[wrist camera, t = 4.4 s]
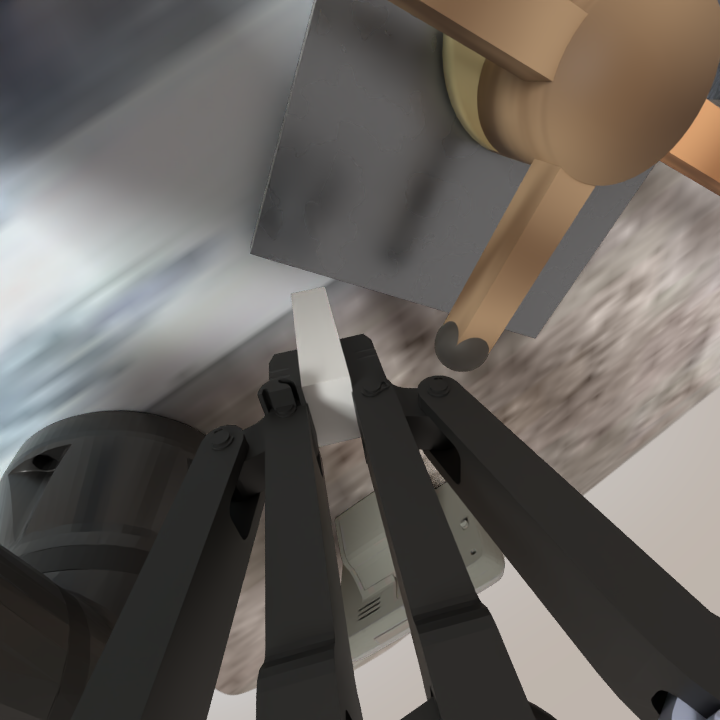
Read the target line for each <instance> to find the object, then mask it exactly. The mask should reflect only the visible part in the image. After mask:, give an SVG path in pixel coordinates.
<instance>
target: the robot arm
mask: <svg viewBox="0 0 720 720" xmlns="http://www.w3.org/2000/svg"><path fill="white" fill-rule="evenodd" d="M291 299H292V308H293V317H294V325H295V334H296V343H297V350H293V351H288V352H284V353H279V354H275V355H274V356H273V358H272V359H271V361H270V363H269V380H270V381H268V382H267V383H265V384H264V385H263V386H262V387H261V388H260V389H259V392H258V398H259V400H260V403H261V405H262V408H263V411H264V413H265V417H264V418H263V419H262V420H260V421H259V422H258V423H256V424H255V425H253V426H251V427H249V428H247V429H245V430H243V431H242V429H241V428H239V427H238V426H235V425H226V426H221V427H219V428H217V429H214V430H212V431H211V432H210V433H209V434H207V435H206V436H205V435H204V434H202V433H200V432H199V431H197V430H195V429H193V428H191V427H189V426H187V425H185V424H182V423H180V422H177V421H174V420H171V419H168V418H164V417H161V416H156V415H152V414H146V413H138V412H127V411H106V412H95V413H88V414H82V415H78V416H74V417H70V418H67V419H64V420H61V421H58V422H56V423H53V424H51V425H49V426H47V427H45V428H43V429H42V430H40V431H38V432H37V433H36V434H34V435H33V436H32V437H30V438H29V439H28V440H27V441H26V442H25V443H24V444H23V445H22V447H21V448H20V449H19V451H18V452H17V454H16V455H15V457H14V459H13V460H12V462H11V463H10V465H9V466H8V468H7V469H6V471H5V473H4V474H3V476H2V478H1V481H0V720H206V719H207V715H208V712H209V708H210V704H211V700H212V696H213V693H214V689H215V685H216V682H217V678H218V674H219V670H220V667H221V663H222V659H223V655H224V652H225V648H226V644H227V641H228V637H229V633H230V629H231V626H232V622H233V618H234V614H235V611H236V607H237V603H238V599H239V596H240V592H241V588H242V584H243V581H244V577H245V573H246V570H247V566H248V562H249V558H250V555H251V551H252V547H253V543H254V540H255V536H256V532H257V528H258V525H259V521H260V517H261V513H262V510H263V506H264V502H265V649H266V650H265V660H264V664H263V665H262V667H261V668H260V670H259V674H258V679H257V693H256V694H257V695H256V720H363V717H362V713H361V707H360V703H359V698H358V694H357V689H356V684H355V678H354V671H353V664H352V658H351V651H350V644H349V638H348V631H347V624H346V618H345V611H344V604H343V597H342V591H341V584H340V577H339V571H338V564H337V557H336V551H335V544H334V537H333V531H332V524H331V517H330V511H329V504H328V497H327V491H326V484H325V477H324V471H323V464H322V458H321V455H320V451H319V447H322V446H326V445H330V444H335V443H339V442H343V441H347V440H351V439H355V438H360V437H361V438H362V443H363V448H364V454H365V459H366V464H368V468H369V472H370V476H371V480H372V484H373V487H374V491H375V495H376V499H377V503H378V507H379V511H380V515H381V518H382V522H383V526H384V530H385V534H386V538H387V542H388V546H389V550H390V553H391V557H392V561H393V565H394V569H395V573H396V577H397V581H398V585H399V588H400V592H401V596H402V600H403V604H404V608H405V612H406V616H407V619H408V623H409V627H410V631H411V635H412V639H413V643H414V646H415V650H416V654H417V658H418V662H419V666H420V670H421V675H422V679H423V683H424V688H425V692H426V696H427V701H426V702H425V703H424V704H422V705H421V706H419V707H418V708H416V709H415V710H414V711H412V712H411V713H409V714H408V715H406V716H405V717H404V718H402V719H401V720H557V719H555V718H554V717H553V716H552V715H550V714H549V713H547V712H546V711H544V710H543V709H541V708H539V707H538V706H537V705H535V704H533V703H531V702H529V701H528V700H527V698H526V695H525V693H524V691H523V688H522V686H521V683H520V681H519V679H518V676H517V674H516V671H515V669H514V667H513V664H512V662H511V660H510V657H509V655H508V652H507V650H506V647H505V645H504V643H503V640H502V638H501V635H500V633H499V630H498V628H497V626H496V624H495V621H494V619H493V617H492V615H491V613H490V612H489V610H488V608H487V607H486V606H485V605H484V604H482V603H481V601H480V599H479V598H478V595H477V593H476V591H475V588H474V586H473V583H472V581H471V578H470V576H469V574H468V571H467V569H466V566H465V564H464V561H463V559H462V556H461V554H460V551H459V549H458V546H457V544H456V541H455V539H454V536H453V534H452V531H451V529H450V526H449V524H448V521H447V519H446V516H445V514H444V511H443V509H442V507H441V504H440V502H439V499H438V497H437V494H436V492H435V489H434V487H433V484H432V482H431V479H430V477H429V474H428V472H427V469H426V467H425V464H424V462H423V459H422V457H421V454H420V452H419V449H422V450H423V452H424V454H425V455H426V456H427V458H428V459H429V460H430V461H431V463H432V464H433V465H434V467H435V468H436V469H437V470H438V472H439V473H440V474H441V475H442V477H443V478H444V479H445V480H446V482H447V483H448V484H449V486H450V487H451V488H452V489H453V491H454V492H455V493H456V494H457V496H458V497H459V498H460V499H461V501H462V502H463V503H464V505H465V506H466V507H467V508H468V510H469V511H470V512H471V513H472V515H473V516H474V517H475V518H476V520H477V521H478V522H479V524H480V525H481V526H482V527H483V529H484V530H485V531H486V532H487V534H488V535H489V536H490V537H491V539H492V540H493V541H494V542H495V544H496V545H497V546H498V548H499V549H500V550H501V551H502V553H503V554H504V555H505V556H506V558H507V559H508V560H509V561H510V563H511V564H512V565H513V567H514V568H515V569H516V570H517V572H518V573H519V574H520V575H521V577H522V578H523V579H524V580H525V582H526V583H527V584H528V586H529V587H530V588H531V589H532V590H533V592H534V593H535V594H536V596H537V597H538V598H539V599H540V601H541V602H542V603H543V605H544V606H545V607H546V608H547V610H548V611H549V612H550V613H551V615H552V616H553V617H554V618H555V620H556V621H557V622H558V623H559V625H560V626H561V627H562V629H563V630H564V631H565V632H566V634H567V635H568V636H569V637H570V639H571V640H572V641H573V643H574V644H575V645H576V646H577V648H578V649H579V650H580V651H581V653H582V654H583V655H584V656H585V658H586V659H587V660H588V661H589V663H590V664H591V665H592V667H593V668H594V669H595V670H596V672H597V673H598V674H599V675H600V676H601V678H603V680H604V681H605V682H606V683H607V685H608V686H609V687H610V688H611V689H612V690H613V692H614V693H615V694H616V695H617V696H618V697H619V699H620V700H622V701H623V703H625V705H626V706H627V707H628V708H629V709H631V711H632V712H633V713H634V714H635V715H636V716H637V717H639V719H640V720H720V617H718V616H716V615H715V614H713V613H711V612H710V611H709V610H708V609H706V607H704V606H703V605H702V604H701V603H700V602H699V601H698V600H697V599H696V598H695V597H694V596H692V595H691V594H690V593H689V592H688V591H687V590H686V589H685V588H684V587H683V586H681V585H680V584H679V583H678V582H677V581H676V580H675V579H674V578H673V577H671V576H670V575H669V574H668V573H667V572H666V571H665V570H664V569H663V568H662V567H660V566H659V565H658V564H657V563H656V562H655V561H654V560H653V559H652V558H650V557H649V556H648V555H647V554H646V553H645V552H644V551H643V550H642V549H641V548H639V547H638V546H637V545H636V544H635V543H634V542H633V541H632V540H631V539H630V538H629V537H627V536H626V535H625V534H624V533H623V532H622V531H621V530H620V529H619V528H617V527H616V526H615V525H614V524H613V523H612V522H611V521H610V520H609V519H607V517H605V516H604V515H603V514H602V513H601V512H600V511H599V510H598V509H597V508H595V507H594V506H593V505H592V504H591V503H590V502H589V501H588V500H587V499H585V498H584V497H583V496H582V495H581V494H580V493H579V492H578V491H577V490H576V489H575V488H573V487H572V486H571V485H570V484H569V483H568V482H567V481H566V480H565V479H564V478H562V477H561V476H560V475H559V474H558V473H557V472H556V471H555V470H554V469H553V468H551V467H550V466H549V465H548V464H547V463H546V462H545V461H544V460H543V459H542V458H540V457H539V456H538V455H537V454H536V453H535V452H534V451H533V450H532V449H530V448H529V447H528V446H527V445H526V444H525V443H524V442H523V441H522V440H521V439H519V438H518V437H517V436H516V435H515V434H514V433H513V432H512V431H511V430H510V429H508V428H507V427H506V426H505V425H504V424H503V423H502V422H501V421H500V420H499V419H497V418H496V417H495V416H494V415H493V414H492V413H491V412H490V411H489V410H488V409H486V408H485V407H484V406H483V405H482V404H481V403H480V402H479V401H478V400H477V399H475V398H474V397H473V396H472V395H471V394H470V393H469V392H468V391H467V390H465V389H464V388H463V387H462V386H461V385H460V384H459V383H458V382H457V381H455V380H454V379H452V378H450V377H446V376H432V377H428V378H426V379H424V380H423V381H421V383H420V384H419V385H418V388H401V387H397V386H395V385H393V384H391V382H390V381H389V380H387V378H386V376H385V373H384V371H383V368H382V366H381V363H380V361H379V358H378V356H377V353H376V351H375V349H374V346H373V343H372V341H371V339H369V338H368V337H367V336H365V335H364V334H360V335H356V336H351V337H347V338H342V339H339V336H338V333H337V329H336V325H335V322H334V318H333V315H332V311H331V307H330V304H329V300H328V297H327V293H326V289H325V287H320V288H315V289H311V290H306V291H301V292H296V293H292V294H291ZM318 445H319V447H318Z"/></svg>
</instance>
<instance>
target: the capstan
mask: <svg viewBox="0 0 720 720" xmlns="http://www.w3.org/2000/svg"><path fill="white" fill-rule="evenodd" d="M388 1H389V2H391V3H393V4H394V5H396V6H398V7H400V8H401V9H403V10H405V11H406V12H408V13H410V14H411V15H413V16H415V17H417V18H418V19H420V20H422V21H423V22H425V23H427V24H428V25H430V26H432V27H434V28H435V29H437V30H439V31H440V32H442V33H443V50H442V56H443V72H444V77H445V83H446V89H447V92H448V95H449V99H450V102H451V105H452V107H453V109H454V111H455V114H456V116H457V118H458V119H459V121H460V123H461V124H462V126H463V127H464V129H465V130H466V131H467V132H468V133H469V135H470V136H471V137H472V138H473V139H474V140H475V141H477V142H478V143H479V144H480V145H481V146H483V147H485V148H486V149H488V150H490V151H491V152H494V153H497V154H499V155H502V156H505V157H508V158H511V159H514V160H517V161H520V162H523V163H526V164H529V165H531V166H530V168H529V169H528V171H527V173H526V175H525V177H524V179H523V180H522V182H521V184H520V186H519V188H518V189H517V191H516V193H515V195H514V197H513V199H512V200H511V202H510V204H509V206H508V208H507V209H506V211H505V213H504V215H503V217H502V219H501V220H500V222H499V224H498V226H497V228H496V230H495V231H494V233H493V235H492V237H491V239H490V240H489V242H488V244H487V246H486V248H485V250H484V251H483V253H482V255H481V257H480V259H479V260H478V262H477V264H476V266H475V268H474V270H473V271H472V273H471V275H470V277H469V279H468V280H467V282H466V284H465V286H464V288H463V290H462V291H461V293H460V295H459V297H458V299H457V300H456V302H455V304H454V306H453V308H452V310H451V311H450V313H449V315H448V317H447V319H446V320H445V322H444V324H443V326H442V327H441V328H440V329H439V331H438V333H437V335H436V338H435V352H436V355H437V357H438V359H439V360H440V361H441V363H442V364H443V365H445V366H446V367H447V368H449V369H451V370H454V371H459V372H466V371H471V370H473V369H476V368H477V367H479V366H480V365H481V364H482V363H483V362H484V361H485V360H486V358H487V357H488V354H489V352H490V351H491V349H492V348H493V346H494V345H495V343H496V342H497V340H498V338H499V337H500V335H501V334H502V332H503V331H504V329H505V327H506V326H507V324H508V323H509V321H510V320H511V318H512V316H513V315H514V313H515V312H516V310H517V309H518V307H519V305H520V304H521V302H522V301H523V299H524V298H525V296H526V294H527V293H528V291H529V290H530V288H531V287H532V285H533V283H534V282H535V280H536V279H537V277H538V276H539V274H540V272H541V271H542V269H543V268H544V266H545V265H546V263H547V262H548V260H549V258H550V257H551V255H552V254H553V252H554V251H555V249H556V247H557V246H558V244H559V243H560V241H561V240H562V238H563V236H564V235H565V233H566V232H567V230H568V229H569V227H570V225H571V224H572V222H573V221H574V219H575V218H576V216H577V214H578V213H579V211H580V210H581V208H582V207H583V205H584V203H585V202H586V200H587V199H588V197H589V196H590V194H591V193H592V191H593V189H594V188H595V186H605V185H613V184H617V183H621V182H624V181H626V180H629V179H631V178H634V177H635V176H637V175H639V174H641V173H643V172H644V171H646V170H647V169H649V168H650V167H652V166H653V165H654V164H656V163H657V162H658V161H661V162H663V163H665V164H666V165H668V166H670V167H671V168H673V169H675V170H676V171H678V172H680V173H682V174H683V175H685V176H687V177H688V178H690V179H692V180H693V181H695V182H697V183H699V184H700V185H702V186H704V187H705V188H707V189H709V190H710V191H712V192H714V193H715V194H717V195H719V196H720V108H719V107H717V106H716V105H714V104H713V103H712V102H710V101H709V100H707V99H706V98H707V96H708V94H709V91H710V89H711V87H712V84H713V81H714V78H715V75H716V72H717V68H718V64H719V61H720V6H719V3H718V1H717V0H388Z"/></svg>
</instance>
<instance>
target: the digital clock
mask: <svg viewBox="0 0 720 720" xmlns="http://www.w3.org/2000/svg"><path fill="white" fill-rule="evenodd" d="M434 489H435V488H434ZM435 492H436V494H437V497H438V499H439V502H440V504H441V507H442V509H443V511H444V514H445V516H446V519H447V521H448V524H449V526H450V529H451V531H452V534H453V536H454V539H455V541H456V544H457V546H458V549H459V551H460V554H461V556H462V559H463V561H464V564H465V566H466V569H467V571H468V574H469V576H470V578H471V581H472V583H473V586H474V588H475V591H476V593H477V594H478V593H480V592H481V591H483V590H485V589H486V588H488V587H490V586H491V585H493V584H494V583H496V582H497V581H499V580H500V579H501V577H502V576H503V573H504V568H505V561H504V557H503V554H502V551H501V550H500V549H499V548H498V546H497V545H496V544H495V542H494V541H493V540H492V539H491V537H490V536H489V535H488V534H487V532H486V531H485V530H484V529H483V527H482V526H481V525H480V524H479V522H478V521H477V520H476V518H475V517H474V516H473V515H472V513H471V512H470V511H469V510H468V508H467V507H466V506H465V505H464V503H463V502H462V501H461V499H460V498H459V497H458V496H457V494H456V493H455V492H454V491H453V489H452V488H451V487H450V486H449V484H448V483H447V482H446V483H444V484H443V485H441V486H440V487H438V488H437V489H435ZM335 524H336V530H337V536H338V543H339V549H340V554H341V558H342V561H343V568H342V579H341V591H342V597H343V604H344V611H345V618H346V624H347V631H348V638H349V644H350V651H351V658H352V662H353V661H358V660H362V659H364V658H366V657H368V656H370V655H371V654H373V653H375V652H377V651H379V650H381V649H382V648H384V647H386V646H388V645H389V644H391V643H393V642H395V641H396V640H398V639H400V638H402V637H403V636H405V635H407V634H408V633H410V632H411V631H410V627H409V623H408V619H407V616H406V612H405V608H404V604H403V600H402V596H401V592H400V588H399V585H398V581H397V577H396V573H395V569H394V565H393V561H392V557H391V553H390V550H389V546H388V542H387V538H386V534H385V530H384V526H383V522H382V518H381V515H380V511H379V507H378V503H377V499H376V495H375V491H374V492H372V493H371V494H370V495H368V496H367V497H365V498H364V499H363V500H361V501H360V502H358V503H357V504H355V505H354V506H353V507H351V508H350V509H348V510H347V511H345V512H344V513H343V514H341V515H340V516H338V517H337V518H336V519H335Z"/></svg>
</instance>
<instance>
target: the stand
mask: <svg viewBox="0 0 720 720" xmlns="http://www.w3.org/2000/svg"><path fill="white" fill-rule="evenodd" d="M717 1H718V3H719V6H720V0H717ZM442 50H443V33H442V32H440V31H439V30H437V29H435V28H434V27H432V26H430V25H428V24H427V23H425V22H423V21H422V20H420V19H418V18H417V17H415V16H413V15H411V14H410V13H408V12H406V11H405V10H403V9H401V8H400V7H398V6H396V5H394V4H393V3H391V2H389V1H388V0H314V3H313V7H312V11H311V14H310V18H309V22H308V26H307V30H306V34H305V38H304V41H303V45H302V49H301V53H300V57H299V61H298V65H297V69H296V72H295V76H294V80H293V84H292V88H291V92H290V96H289V99H288V103H287V107H286V111H285V115H284V119H283V123H282V127H281V130H280V134H279V138H278V142H277V146H276V150H275V154H274V157H273V161H272V165H271V169H270V173H269V177H268V181H267V184H266V188H265V192H264V196H263V200H262V204H261V208H260V212H259V215H258V219H257V223H256V227H255V231H254V235H253V239H252V242H251V252H250V254H253V255H256V256H260V257H263V258H266V259H270V260H273V261H276V262H280V263H283V264H287V265H290V266H293V267H297V268H300V269H303V270H307V271H310V272H313V273H317V274H320V275H324V276H327V277H330V278H334V279H337V280H340V281H344V282H347V283H350V284H354V285H357V286H361V287H364V288H367V289H371V290H374V291H377V292H381V293H384V294H388V295H391V296H394V297H398V298H401V299H404V300H408V301H411V302H414V303H418V304H421V305H425V306H428V307H431V308H435V309H438V310H441V311H445V312H448V313H450V311H451V310H452V308H453V306H454V304H455V302H456V300H457V299H458V297H459V295H460V293H461V291H462V290H463V288H464V286H465V284H466V282H467V280H468V279H469V277H470V275H471V273H472V271H473V270H474V268H475V266H476V264H477V262H478V260H479V259H480V257H481V255H482V253H483V251H484V250H485V248H486V246H487V244H488V242H489V240H490V239H491V237H492V235H493V233H494V231H495V230H496V228H497V226H498V224H499V222H500V220H501V219H502V217H503V215H504V213H505V211H506V209H507V208H508V206H509V204H510V202H511V200H512V199H513V197H514V195H515V193H516V191H517V189H518V188H519V186H520V184H521V182H522V180H523V179H524V177H525V175H526V173H527V171H528V169H529V168H530V166H531V165H529V164H526V163H523V162H520V161H517V160H514V159H511V158H508V157H505V156H502V155H499V154H497V153H494V152H491V151H490V150H488V149H486V148H485V147H483V146H481V145H480V144H479V143H478V142H477V141H475V140H474V139H473V138H472V137H471V136H470V135H469V133H468V132H467V131H466V130H465V129H464V127H463V126H462V124H461V123H460V121H459V119H458V118H457V116H456V114H455V111H454V109H453V107H452V105H451V102H450V99H449V95H448V92H447V89H446V83H445V77H444V72H443V56H442ZM706 99H707V100H709V101H710V102H712V103H713V104H714V105H716V106H720V61H719V64H718V68H717V72H716V75H715V78H714V81H713V84H712V87H711V89H710V91H709V94H708V96H707V98H706ZM654 165H655V164H654ZM654 165H653V166H652V167H650V168H649V169H647V170H646V171H644V172H643V173H641V174H639V175H637V176H635V177H634V178H631V179H629V180H626V181H624V182H621V183H617V184H613V185H605V186H595V188H594V189H593V191H592V193H591V194H590V196H589V197H588V199H587V200H586V202H585V203H584V205H583V207H582V208H581V210H580V211H579V213H578V214H577V216H576V218H575V219H574V221H573V222H572V224H571V225H570V227H569V229H568V230H567V232H566V233H565V235H564V236H563V238H562V240H561V241H560V243H559V244H558V246H557V247H556V249H555V251H554V252H553V254H552V255H551V257H550V258H549V260H548V262H547V263H546V265H545V266H544V268H543V269H542V271H541V272H540V274H539V276H538V277H537V279H536V280H535V282H534V283H533V285H532V287H531V288H530V290H529V291H528V293H527V294H526V296H525V298H524V299H523V301H522V302H521V304H520V305H519V307H518V309H517V310H516V312H515V313H514V315H513V316H512V318H511V320H510V321H509V323H508V324H507V326H506V327H505V330H509V331H512V332H515V333H519V334H522V335H526V336H529V337H532V338H536V337H537V335H538V334H539V332H540V331H541V329H542V328H543V326H544V325H545V324H546V322H547V321H548V319H549V318H550V316H551V315H552V313H553V312H554V311H555V309H556V308H557V306H558V305H559V303H560V302H561V300H562V299H563V297H564V296H565V295H566V293H567V292H568V290H569V289H570V287H571V286H572V284H573V283H574V281H575V280H576V279H577V277H578V276H579V274H580V273H581V271H582V270H583V268H584V267H585V265H586V264H587V263H588V261H589V260H590V258H591V257H592V255H593V254H594V252H595V251H596V250H597V248H598V247H599V245H600V244H601V242H602V241H603V239H604V238H605V236H606V235H607V234H608V232H609V231H610V229H611V228H612V226H613V225H614V223H615V222H616V220H617V219H618V218H619V216H620V215H621V213H622V212H623V210H624V209H625V207H626V206H627V205H628V203H629V202H630V200H631V199H632V197H633V196H634V194H635V193H636V191H637V190H638V189H639V187H640V186H641V184H642V183H643V181H644V180H645V178H646V177H647V175H648V174H649V173H650V171H651V170H652V168H653V167H654Z"/></svg>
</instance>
